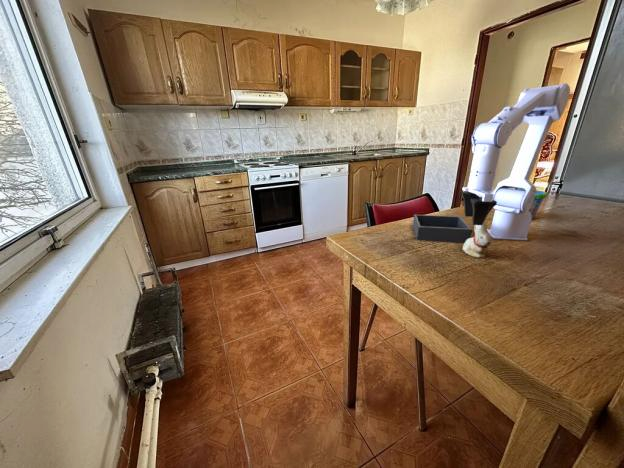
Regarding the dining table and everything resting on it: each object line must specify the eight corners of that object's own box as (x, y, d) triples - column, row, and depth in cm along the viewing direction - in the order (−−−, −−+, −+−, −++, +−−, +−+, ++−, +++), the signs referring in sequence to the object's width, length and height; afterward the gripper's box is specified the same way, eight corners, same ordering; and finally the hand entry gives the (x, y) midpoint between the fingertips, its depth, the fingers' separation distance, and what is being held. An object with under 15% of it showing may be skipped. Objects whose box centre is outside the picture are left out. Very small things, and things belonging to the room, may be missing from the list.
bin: (458, 228, 93) (460, 216, 91) (469, 243, 81) (472, 229, 79) (412, 226, 97) (414, 214, 95) (416, 239, 85) (418, 226, 83)
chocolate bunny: (465, 257, 72) (472, 223, 68) (461, 246, 79) (467, 215, 75) (488, 260, 70) (496, 225, 66) (482, 248, 77) (489, 216, 73)
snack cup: (509, 210, 111) (515, 186, 107) (541, 214, 104) (549, 189, 100) (501, 218, 101) (507, 193, 97) (535, 224, 94) (543, 197, 90)
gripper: (459, 168, 75) (451, 212, 80) (474, 175, 62) (464, 228, 67) (486, 168, 74) (477, 213, 78) (508, 176, 61) (495, 229, 65)
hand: (473, 220), depth 73 cm, fingers open, 7 cm apart
